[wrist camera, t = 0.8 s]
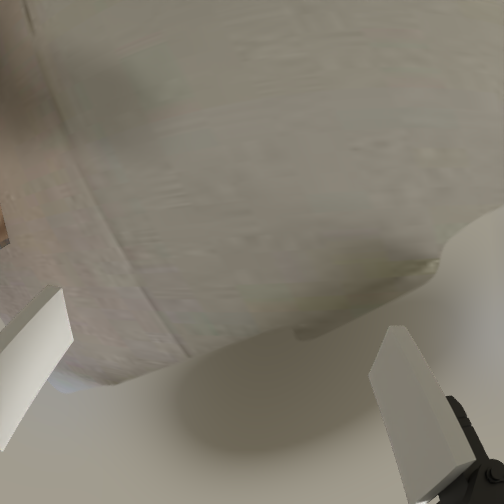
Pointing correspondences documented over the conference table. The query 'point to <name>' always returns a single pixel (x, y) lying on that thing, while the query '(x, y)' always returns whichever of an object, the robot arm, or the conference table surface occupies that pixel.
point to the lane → (3, 232)
